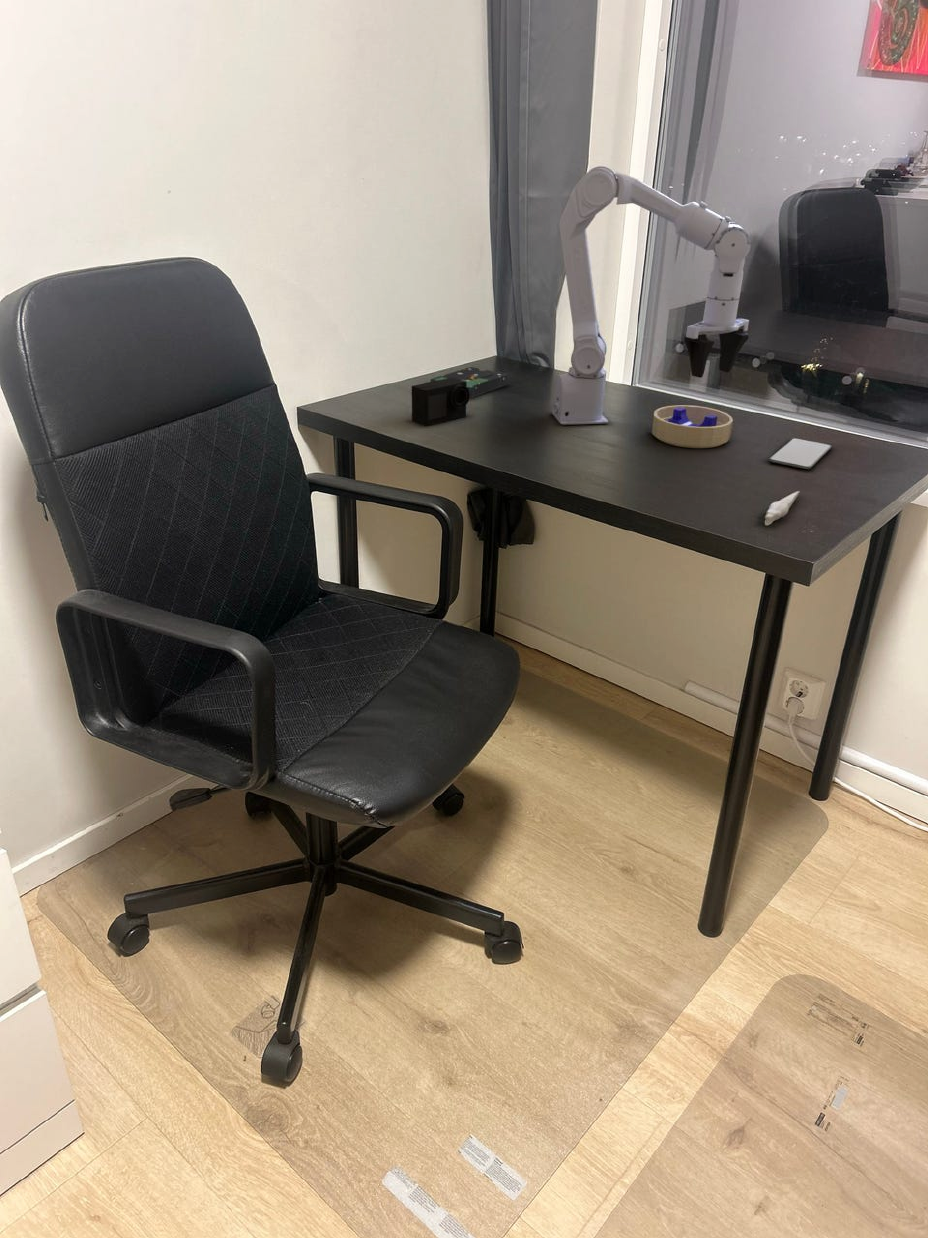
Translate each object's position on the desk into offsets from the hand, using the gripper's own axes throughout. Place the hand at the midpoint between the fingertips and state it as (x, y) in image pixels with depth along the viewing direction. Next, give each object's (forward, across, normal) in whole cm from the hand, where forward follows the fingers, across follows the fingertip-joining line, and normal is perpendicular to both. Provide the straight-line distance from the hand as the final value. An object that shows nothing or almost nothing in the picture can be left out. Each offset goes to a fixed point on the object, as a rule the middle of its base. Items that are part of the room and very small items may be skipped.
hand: (710, 373), depth 165 cm
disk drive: (+10, -23, +46) cm, 52 cm away
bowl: (+10, -7, -3) cm, 13 cm away
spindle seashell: (+10, -22, -36) cm, 43 cm away
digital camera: (+10, -41, +30) cm, 52 cm away
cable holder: (+10, -7, -3) cm, 12 cm away
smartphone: (+10, +2, -21) cm, 23 cm away
